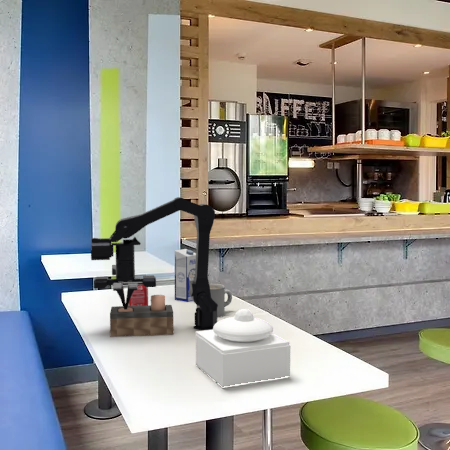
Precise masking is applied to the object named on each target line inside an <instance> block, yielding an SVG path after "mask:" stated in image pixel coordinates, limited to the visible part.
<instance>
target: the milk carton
mask: <svg viewBox="0 0 450 450" xmlns="http://www.w3.org/2000/svg"><path fill="white" fill-rule="evenodd" d="M195 265H196V252H194V251H193V250H191V249H187V248H184V249H175V250H174V300H175V301H180V302H186V303H187V302H194V301H193V300H192V299H191V296H190V294H189V293H188V291H189V280H190V281H193V280H194V277H195Z"/></svg>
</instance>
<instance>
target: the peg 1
mask: <svg viewBox="0 0 450 450" xmlns="http://www.w3.org/2000/svg"><path fill="white" fill-rule="evenodd" d="M130 311H133V309H132V308H127V309H125V310H124V308H120V309H118V312H130Z"/></svg>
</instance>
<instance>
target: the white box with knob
mask: <svg viewBox="0 0 450 450" xmlns="http://www.w3.org/2000/svg"><path fill="white" fill-rule="evenodd" d="M273 332H274V327H273V325H272V324H271V323H270V322H268V321H267V320H264V319H263V318H262V319H261V318H259V317H255V316H254V314H253V312H252V311H251V310H250V309H249V308H242V309H241V308H240V309H238V310H237V311H236V312H235V314H234V316H230V317H226V318H223V319H220V320H217V323H216V324H215V325H214V326H213V330H197V331H195V366H196V365H197V366H198V367H199V368H200V369H199V368H198V367H197V366H196V367H197V368H198V369H199V370H201V369H202V370H203V371H204V372H205V373H206V374H208V375H209V376H210V377H211V378H213V379H214V380H215V381H216V382H217V383H219V384H220V385H221V386H222V387H224V386H230V385H235V384H241V383H248V382H255V381H261V380H268V379H275V378H281V377H285V376H290V377H291V345H290V341H288V340H286V339H284V338H282V337H281V336H278V335H277V334H275V333H273ZM202 370H201V371H202ZM203 371H202V372H203ZM204 372H203V373H204ZM205 373H204V374H205ZM206 374H205V375H206ZM209 376H208V377H209ZM210 377H209V378H210ZM211 378H210V379H211ZM217 383H216V384H217Z"/></svg>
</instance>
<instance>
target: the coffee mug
mask: <svg viewBox="0 0 450 450" xmlns="http://www.w3.org/2000/svg"><path fill="white" fill-rule="evenodd" d="M209 285H210V292H211V298H212V299H213V300H214V301H215V302H216V303H217V304H218V307H217V318H219V317H223V316H224V315H225V314H226V312H225V311H226V310H225V309H226V308H225V307H227V306H229V305H230V304H231V303H232V300H233V294H232V291H231V290H229V289H227V288H226V289H225V285H224V284H219V283H209ZM225 295H227V299H226V297H225ZM225 299H226V300H225ZM196 308H198V306H197V305H196Z"/></svg>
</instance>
